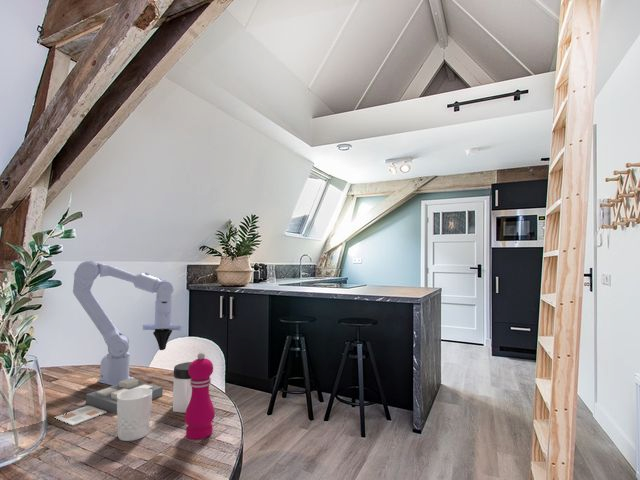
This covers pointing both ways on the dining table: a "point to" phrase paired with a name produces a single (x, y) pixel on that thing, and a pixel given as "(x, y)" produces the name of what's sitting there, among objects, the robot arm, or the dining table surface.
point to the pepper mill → (200, 400)
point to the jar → (181, 387)
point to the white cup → (133, 413)
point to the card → (80, 415)
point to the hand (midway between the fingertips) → (162, 349)
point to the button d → (145, 386)
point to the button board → (110, 403)
